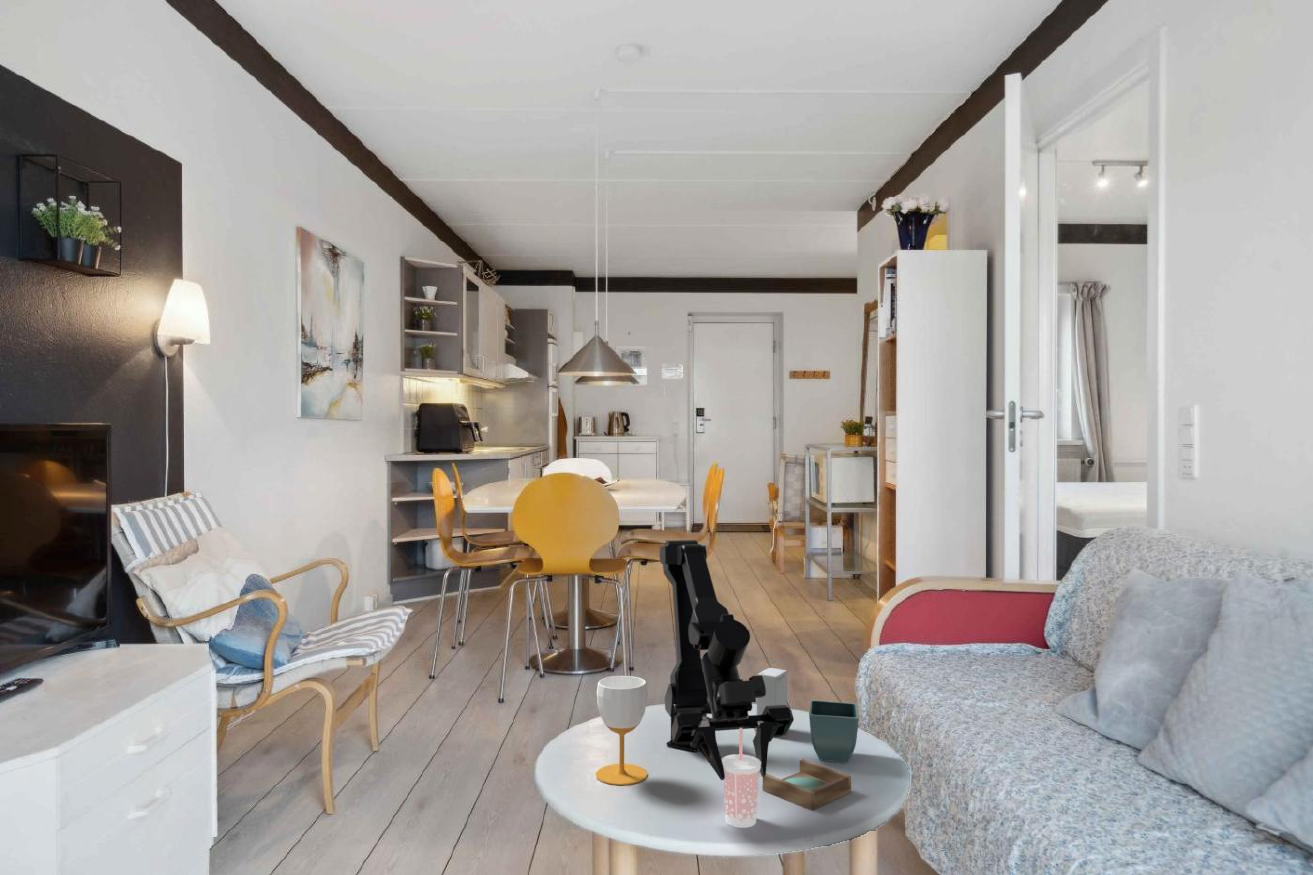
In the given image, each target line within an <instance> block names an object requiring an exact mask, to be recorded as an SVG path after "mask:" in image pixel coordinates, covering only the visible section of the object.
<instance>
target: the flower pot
mask: <svg viewBox="0 0 1313 875" xmlns="http://www.w3.org/2000/svg"><path fill="white" fill-rule="evenodd" d="M858 709H859V707H858V704H857V703H853V702H840V701H829V700H816V699H815V700H814V699H812V700H809V710H808V711H809V712H808V715H809V716H808V717H809V727H810V728H809V729H810V738H811V743H812V747H813V751H814V752H815V753H816V756H817V758H818V759H819V760H820V761H828V762H840V763H847V762H848V761H850V759H851V757H852V755H853V753H854V751H855V749H856V746H857V738H858V732H859V721H860V720H859V719H860V715H859V710H858Z"/></svg>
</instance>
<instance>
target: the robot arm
mask: <svg viewBox="0 0 1313 875" xmlns="http://www.w3.org/2000/svg"><path fill="white" fill-rule="evenodd" d="M707 559H708V558H707V545H704V544H700V543H699V542H698V541H697V540H696V539H680V540H679V539H678V540H676V539H675V540H669V539H668V540H666V541H665V543H664V545H661V546H660V548H659V561H660V564H661V565H662V569H663V570H662V571H663V574H664V576H665V577H666V578H667V580H668V582H669V583H670V584H671V586H672V599H673V601H672V602H673V613H674V614H673V615H674V626H675V644H676V656H677V657H676V658H677V659H676V663H675V665H674V666H673V669H672V672H671V673H670V677H669V678H670V680H669V681H670V683H669V684H668V687H667V689H666V692H665V696H664V710H665V711H666V713H667V714H668V716H669V717H670V740H668V741H667V742H666V746H667V747H671V748H676V749H680V750H686V751H689V752H694V753H695V752H698V751H699V753H701V755H702V756H703V757H704V758H705V759H706V761H707V762H708V763H709V764H710V766H711V767H712V769H713V771H714V772H715V774H716V775H717V776H718V777H719V779H720V781H723V780H724V778H725V774H724V767H723V764H722V760H721V759H722V757H721V753H720V750H719V746H718V743H717V736H716V735H717V734H716V732H717V731H718V732H720V731H722V732H723V731H731V730H733V731H734V730H739V728H742V730H747V729H750V730H751V729H754V734H755V735H754V738H753V740H752V743H753V748H754V752H755V757H756V758H758V759H759V760H760V761H761V768H760V770H759V774H760V776H761V778H763V777H765V775H766V774H767V764H768V763H767V762H768V753H769V745H770V742H772V741H773V738H782V737H784V736H786V735H787V734H788V731H789V729H790V728H791V726H792V724H793V722H794V720H795V719H794V716H793V712H792V709H791V708H790V707H789V706H788V705H787V706H786V705H775V706H766V707H765V709H764V711H763V713H762V715H757V714H753V715H749V712H751V711H752V709H753V704H752V703H757V698H762V697H763V696H765V695H766V688H765V683H764V680H763V676H762V675H760V676H757V675H752V676H750V677H749V678H748V680H743V678H740V673H739V669H738V666H739V665H740V664H741V662H742V660H743V658H744V656H745V653H746V651H747V648H748V646H749V643H750V640H751V633H750V630H749V629H748V628H747V627H746V625H744V623H742V622H740V621H738V620H736V619H735V617H734V614H730V612H729V610H728V609H727V607H726V606H724V605H723V604H722V603H720V601H719V600H718V598H717V595H716V591H715V588H714V583H713V580H712V577H711V573H710V569H709V566H708V562H707ZM701 651H706V652H705V653H704V654H703V655H702V657H701ZM707 714H708V715H711V717H708V716H707Z"/></svg>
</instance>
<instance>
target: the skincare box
mask: <svg viewBox="0 0 1313 875" xmlns="http://www.w3.org/2000/svg"><path fill="white" fill-rule="evenodd" d="M760 675H762V676H763V680H764V683H765V688H766V695H765V696H763V697H762V698H756V715H762V713H763V711H764V709H765V707H766V706H775V705H786V706H788V670H785V669H780V668H775V667H774V668H773V667H768V668H766V669H764V670H762V671H761V672H759V673H757V675H756V676H760Z"/></svg>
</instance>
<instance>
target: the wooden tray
mask: <svg viewBox="0 0 1313 875" xmlns="http://www.w3.org/2000/svg"><path fill="white" fill-rule="evenodd" d="M762 791H763V792H765V793H767V794H770V795H773V796H775V797H776V798H777V797H778V798H780V799H782V800H784V801H787V802H789V803H791V804H792V803H793V804H795V805H797V806H798V807H799V806H800V807H803V808H804V809H807V810H809V811H814V810H815V809H818V808H819V807H821V806H824V805H826V804H828V803H831V802H833V801H835V800H838V799H839V798H841V797H844V796H846V795H847V794H850V793H851V792H852V776H851V775H849V774H846V773H844V772H840V771H838V770H835V769H833V768H829V767H827V766H824V765H820V764H818V763H815V762H813V761H810V760H806V759H805V758H801V759H799V771H798V772H796V773H793V774H791V775H788V776H786V777H784V778H779V777H776V776H773V775H771V774H768V773H766V775H765V777H762Z"/></svg>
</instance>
